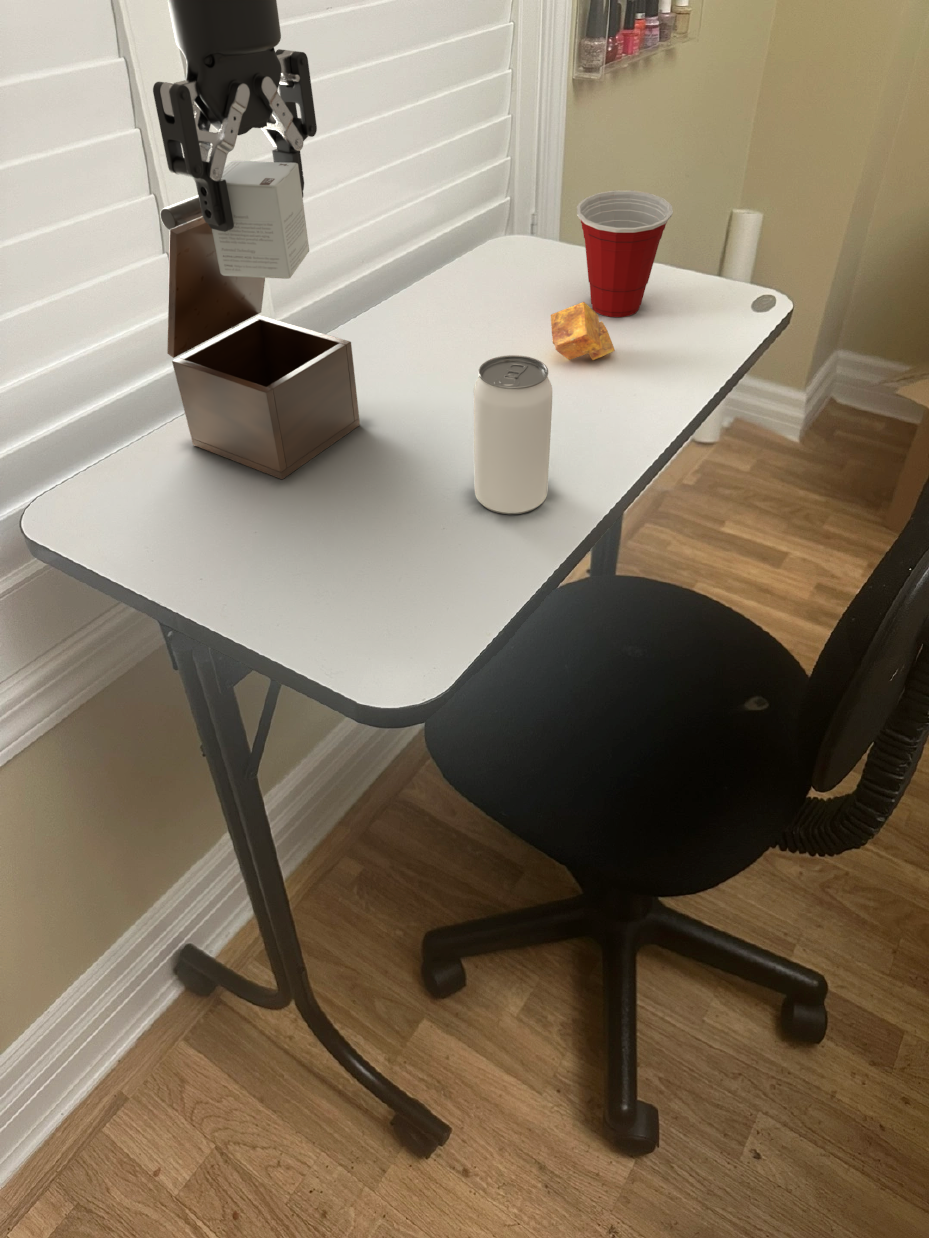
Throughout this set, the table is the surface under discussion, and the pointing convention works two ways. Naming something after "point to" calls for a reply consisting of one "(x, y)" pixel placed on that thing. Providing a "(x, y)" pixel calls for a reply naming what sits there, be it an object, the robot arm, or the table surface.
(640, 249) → the plastic cup
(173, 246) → the lid
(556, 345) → the pyrite
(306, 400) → the chest
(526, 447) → the can
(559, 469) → the table surface
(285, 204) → the product carton
